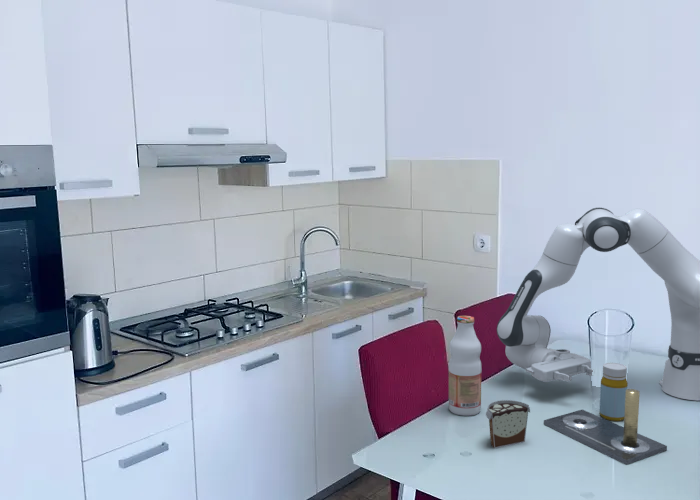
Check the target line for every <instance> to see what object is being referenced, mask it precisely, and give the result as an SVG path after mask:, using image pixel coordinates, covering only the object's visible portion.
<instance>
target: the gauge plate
mask: <svg viewBox="0 0 700 500" xmlns="http://www.w3.org/2000/svg"><path fill="white" fill-rule="evenodd" d="M640 394H641V393H640V390H638V389H635V388H628V389H626V394H625V414H624V419H623V421H624V422H623V426H621V425H620V424H617V423H616V422H615V423H614V421H610V420H607V419H604V418H603V417H602V416H599V415H596V414H594V413H592V412H590V411H587V410H585V409H579V410H576V411H575V410H574V411H572V412H568V413H564V414H561V415H557V416H554V417H551V418H547V419H544V420H543V425H544V426H546V427H548V428H551V429H552V430H555V431H556V432H559V433H561V434H562V435H565V436H567V437H569V438H570V439H573V440H575V441H577V442H579V443H580V444H583V445H585V446H587V447H589V448H591V449H593V450H595V451H597V452H599V453H602V454H603V455H606V456H608V457H610V458H612V459H614V460H615V461H618V462H619V463H622V464H624V465H629V464H633V463H636V462H639V461H641V460H643V459H646V458H650V457H652V456H655V455H658V454H660V453H664V452H666V451H667V450H668V445H666V444H664V443H661V442H659V441H656V440H655V439H652V438H650V437H647V436H644V435H643V434H640V433H639V430H638V429H639V414H640V413H639V411H640Z"/></svg>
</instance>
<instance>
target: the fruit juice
mask: <svg viewBox="0 0 700 500" xmlns="http://www.w3.org/2000/svg"><path fill="white" fill-rule="evenodd" d="M456 323H457V326H456V330H455V332H454V336H453V337H452V339H451V340H450V342H449V349H448V350H449V353H450V359H449V363H448V409H449V411H450V412H451V413H452V414H454V415H457V416H462V417H463V416H466V417H470V416H474V415H478V414H479V413H480V412H481V409H482V408H481V407H482V361H481V359H480V356H481V353H482V343H481V342H480V340H479V338H478V336H477V335H476V334H477V333H476V331H475V329H474V324H475V317H474V316H470V315H458V316H457V318H456Z"/></svg>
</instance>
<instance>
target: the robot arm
mask: <svg viewBox="0 0 700 500" xmlns="http://www.w3.org/2000/svg"><path fill="white" fill-rule="evenodd" d="M625 245H628V246H629V247H630V248H632V250H633V251H634V252H635V253H636V254H637V255H638V256H639V257H640V258H641V259H642V260H643V261H644V263H646V265H647V266H648V267H649V268H650V269H651V270H652V271H653V272H654V273H655V274H656V275H657V276H659V277H660V279H662V280H663V281H664V286H665V288H666V291H667V296H668V304H669V305H668V306H669V310H670V319H671V320H670V321H671V327H670V329H671V330H670V344H669V346H668V350H667V353H668V354H667V357H668V358H667V360H665V362H664V363H665V364H664V368H663V376H662V379H660V380H659V385H660V386H661V391H663V392H664V393H666V394H667V395H669V396H672V397H675V398H678V399H682V400H683V399H684V400H689V401H698V402H699V401H700V260H699V259H698V258H697V257H696V256H695V255H694V254H692V253H691V252H690V251H689V250H688V249H687V248H686V247H685V246H683V244H682V243H681V242H680V241H679V240H678V239H677V238H676V237H675V236H674V235H673V233H671V231H669V229H667V227H666V226H665V225H664V224H663V223H662V222H661V221H659V220H658V218H656V217H655V216H654V215H652V214H651V213H649V212H648V211H647V210H645V209H642V208H635V209H631V210H629V211H628V212H627V213H625V214H624V215H621V216H617V215H615V214H614V213H613V212H612V211H611V210H609V209H607V208H605V207H594V208H591V209H590V210H588V211H586V212H585V213H584V214H582V216H581V217H579V218H578V219H576V221H575V223H574V224H573V223H561V224H559V225H557V226H556V228H555V229H554V230H553V231H552V233H551V235H550V237H549V238H548V241H547V242H546V245H545V247H544V250H543V252H542V255H540V259H539V261H537V263H536V265H535V266H534V267H533V268H532V269H531V271H529V272H528V273H527V274H526V275H525V277H524V278H523V280H522V282H521V283H520V286H519V287H518V289H517V291H516V293H515V295H514V296H513V299H512V301H511V302H510V304H509V306H508V308H507V309H506V311H505V312H504V313H503V315H501V317H500V318H499V320H498V322H497V325H496V334H497V337H498V339H499V341H500V342H501V343H502V344H503V345H505V356H506V357H507V359H508V361H510V362H511V364H513V365H515V366H517V367H519V368H521V369H523V370H525V372H527V373H530V374H531V375H530V376H532V377H533V378H535V379H536V380H538V381H540V382H544V383H548V382H553V381H564V382H566V383H567V382H570V381H572V378H573V376H576V375H577V376H578V375H581V374H585V375H586V376H589V377H592V376H593V375H592V372H593V370H594V369H593V368H592V361H591V360H590V359H589V358H587V357H585V356H582V355H580V354H578V353H573V352H571V351H570V350H569V349H562V348H561V349H552V348H547V347H548V345H549V341H550V337H551V333H552V332H551V325H550V323H549V321H548V320H547V318H546V317H544V316H542V315H536V314H535V315H531V314H528V313H529V312H530V310H531V308H532V306H533V304H534V303H535V300H536V299H537V298H538V297H539V296H540V295H541V294H543V293H545V292H547V291H549V290H551V289H554V288H557V287H561V286H563V285H565V284H567V283H568V282H570V281H571V279H572V277H573V276H574V274H575V272H576V270H577V268H578V265H579V262H580V260H581V257H582V255H583V253H584V252H585V251H586V250H587V249H588V248H589V247H591V249H593V250H595V251H598V252H601V253H608V252H609V253H610V252H612V251H615V250H616V249H618V248H620V247H623V246H625ZM592 369H593V370H592Z"/></svg>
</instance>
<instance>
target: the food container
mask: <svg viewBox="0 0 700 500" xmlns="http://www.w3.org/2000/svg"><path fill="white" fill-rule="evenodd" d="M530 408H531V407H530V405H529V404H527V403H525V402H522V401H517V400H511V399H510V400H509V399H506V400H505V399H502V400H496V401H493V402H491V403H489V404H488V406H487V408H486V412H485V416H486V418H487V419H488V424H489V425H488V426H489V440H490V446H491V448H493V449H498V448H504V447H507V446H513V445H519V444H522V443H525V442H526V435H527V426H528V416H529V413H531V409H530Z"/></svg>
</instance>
